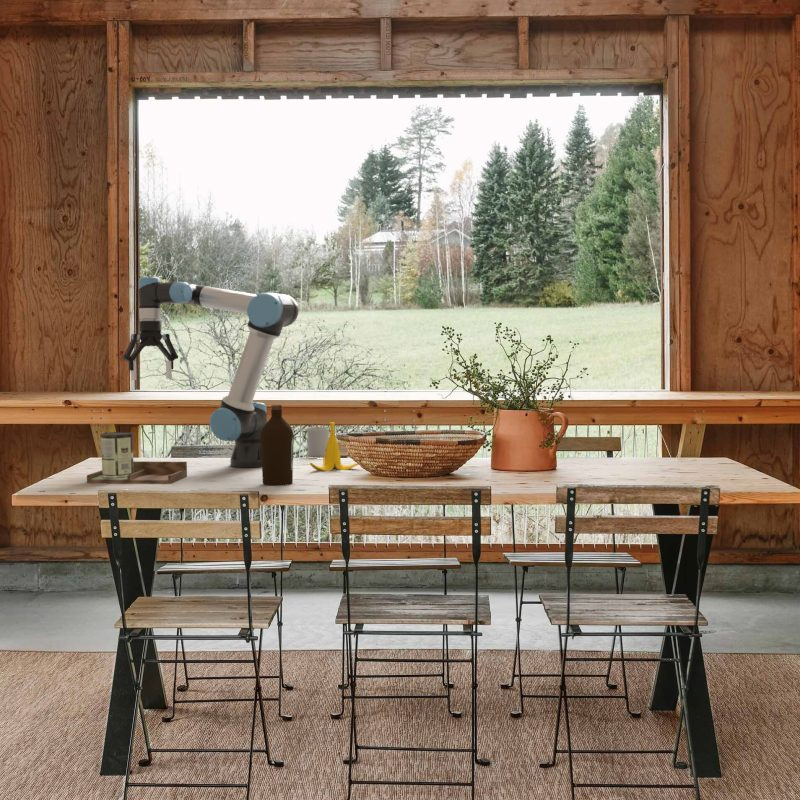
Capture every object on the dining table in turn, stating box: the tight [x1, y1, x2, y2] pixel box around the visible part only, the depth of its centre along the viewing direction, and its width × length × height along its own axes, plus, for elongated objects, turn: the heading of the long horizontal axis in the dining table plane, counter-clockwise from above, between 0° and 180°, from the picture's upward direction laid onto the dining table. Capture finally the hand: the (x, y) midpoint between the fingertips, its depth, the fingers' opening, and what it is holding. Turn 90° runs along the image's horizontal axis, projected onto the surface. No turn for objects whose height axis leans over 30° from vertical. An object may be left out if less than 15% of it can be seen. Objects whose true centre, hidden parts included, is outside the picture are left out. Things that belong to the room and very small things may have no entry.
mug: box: [306, 426, 330, 458], centre depth 386 cm, size 12×8×11 cm
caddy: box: [86, 460, 188, 484], centre depth 323 cm, size 28×16×5 cm, turn 84°
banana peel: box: [309, 421, 359, 472], centre depth 345 cm, size 17×19×17 cm
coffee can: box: [100, 431, 134, 478], centre depth 323 cm, size 10×10×14 cm
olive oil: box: [260, 404, 295, 487], centre depth 311 cm, size 11×11×25 cm
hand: (151, 379), depth 355 cm, fingers open, 13 cm apart
